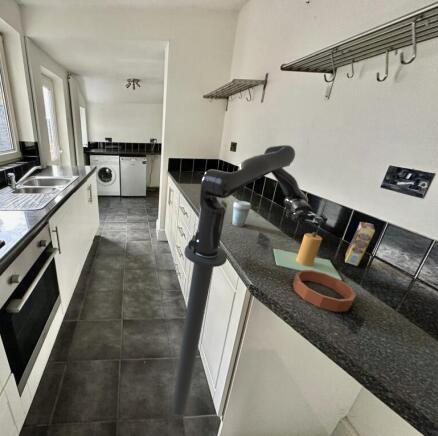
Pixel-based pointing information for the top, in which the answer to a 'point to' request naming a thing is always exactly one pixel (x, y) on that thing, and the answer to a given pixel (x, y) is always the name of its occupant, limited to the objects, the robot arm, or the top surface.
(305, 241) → the orange cylinder
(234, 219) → the coffee cup
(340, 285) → the ring
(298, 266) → the towel
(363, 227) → the candy box
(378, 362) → the top surface
